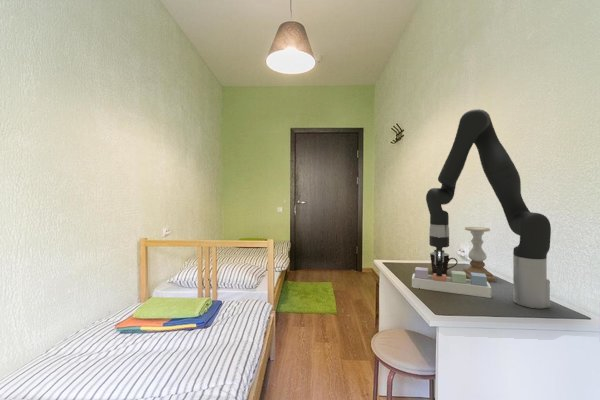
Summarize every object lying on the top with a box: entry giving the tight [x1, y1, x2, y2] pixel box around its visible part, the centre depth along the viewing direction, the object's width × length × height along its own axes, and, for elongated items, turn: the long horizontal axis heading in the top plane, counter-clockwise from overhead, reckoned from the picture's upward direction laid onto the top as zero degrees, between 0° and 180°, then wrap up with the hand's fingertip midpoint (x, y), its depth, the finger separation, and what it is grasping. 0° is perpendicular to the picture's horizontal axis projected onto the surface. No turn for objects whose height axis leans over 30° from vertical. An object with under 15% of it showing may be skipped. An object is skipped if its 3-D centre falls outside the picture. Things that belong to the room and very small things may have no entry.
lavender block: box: [414, 266, 429, 280], centre depth 119 cm, size 5×5×4 cm
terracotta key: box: [432, 272, 447, 282], centre depth 116 cm, size 5×5×4 cm
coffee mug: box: [429, 251, 458, 276], centre depth 137 cm, size 12×9×10 cm
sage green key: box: [450, 270, 466, 284], centre depth 113 cm, size 5×5×4 cm
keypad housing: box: [411, 273, 492, 299], centre depth 115 cm, size 28×8×4 cm, turn 63°
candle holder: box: [460, 226, 496, 283], centre depth 130 cm, size 11×11×24 cm
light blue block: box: [471, 273, 487, 287], centre depth 110 cm, size 5×5×4 cm
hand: (439, 275), depth 116 cm, fingers closed
